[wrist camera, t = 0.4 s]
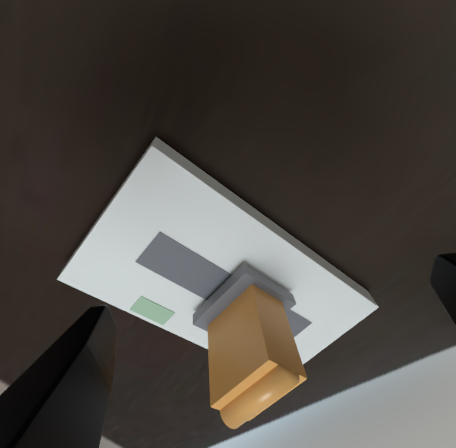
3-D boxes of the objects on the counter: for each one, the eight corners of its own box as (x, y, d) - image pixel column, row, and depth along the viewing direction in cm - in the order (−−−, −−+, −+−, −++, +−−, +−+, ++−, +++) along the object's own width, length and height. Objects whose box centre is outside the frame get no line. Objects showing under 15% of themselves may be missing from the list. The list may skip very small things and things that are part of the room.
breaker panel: (367, 290, 28) (379, 308, 26) (274, 363, 32) (279, 383, 30) (155, 136, 19) (151, 146, 18) (67, 262, 23) (56, 280, 22)
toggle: (292, 294, 24) (330, 393, 17) (241, 338, 26) (257, 443, 19) (243, 263, 22) (264, 361, 15) (192, 314, 24) (191, 420, 17)
